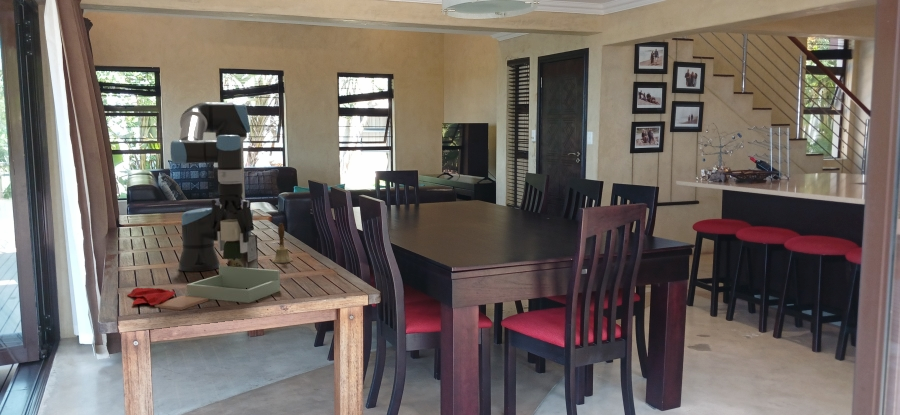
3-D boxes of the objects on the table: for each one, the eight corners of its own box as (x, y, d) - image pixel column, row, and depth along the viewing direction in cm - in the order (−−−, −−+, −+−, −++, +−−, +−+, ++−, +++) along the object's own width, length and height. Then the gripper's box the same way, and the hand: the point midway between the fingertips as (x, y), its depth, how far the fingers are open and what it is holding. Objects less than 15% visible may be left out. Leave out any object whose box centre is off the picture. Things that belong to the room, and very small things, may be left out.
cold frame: (187, 296, 219) (186, 275, 218) (221, 285, 235) (220, 265, 234) (248, 302, 211) (248, 280, 210) (280, 290, 227) (279, 270, 226)
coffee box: (259, 278, 246) (258, 234, 245) (248, 282, 240) (247, 237, 238) (238, 276, 249) (236, 233, 247) (227, 280, 243) (225, 236, 241)
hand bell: (268, 262, 277) (266, 224, 275) (280, 258, 284) (279, 221, 282) (284, 263, 274) (283, 225, 272) (296, 260, 281) (295, 222, 279)
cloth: (180, 301, 209) (180, 294, 208) (131, 308, 202) (131, 300, 202) (170, 287, 231) (169, 280, 231) (125, 292, 224) (125, 286, 224)
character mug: (248, 261, 219) (247, 221, 218) (226, 263, 215) (224, 223, 214) (239, 255, 228) (238, 217, 227) (218, 257, 225) (216, 219, 223)
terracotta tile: (154, 307, 206) (154, 304, 206) (182, 297, 217) (182, 295, 217) (181, 309, 202) (181, 307, 202) (208, 300, 214) (208, 298, 214)
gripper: (196, 182, 219) (199, 251, 222) (250, 184, 212) (252, 255, 215) (211, 180, 226) (214, 247, 229) (264, 182, 219) (266, 251, 222)
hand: (232, 251), depth 222 cm, fingers closed on character mug, 8 cm apart
